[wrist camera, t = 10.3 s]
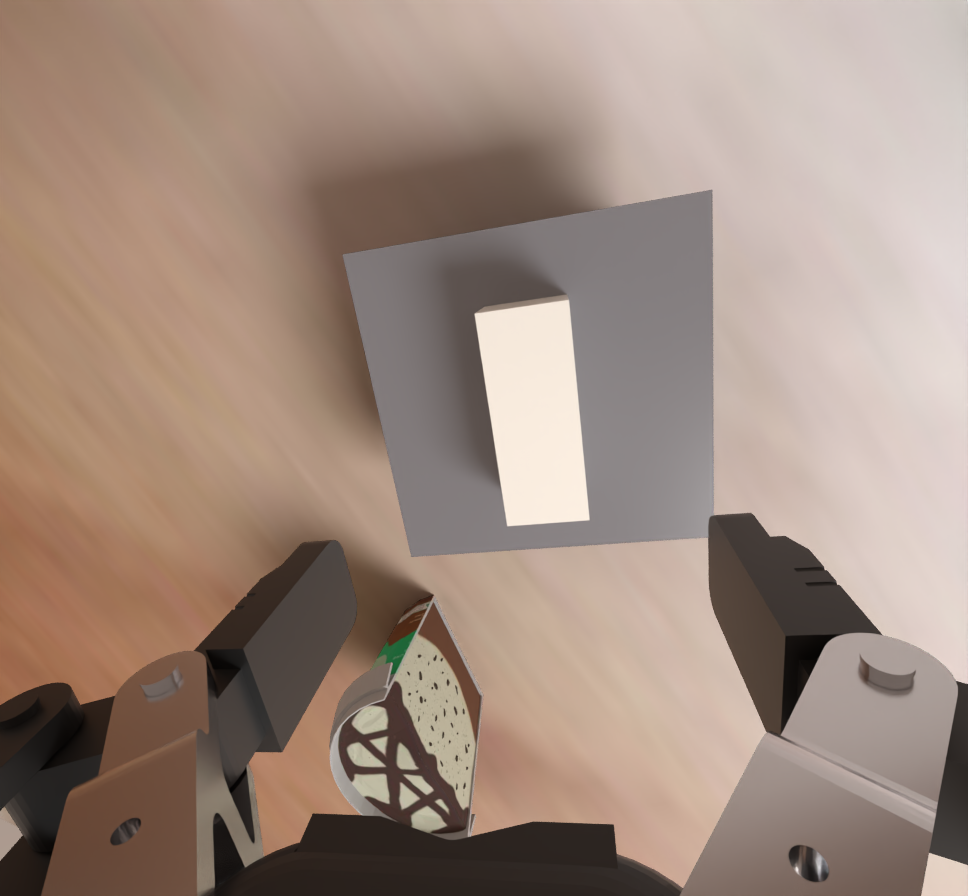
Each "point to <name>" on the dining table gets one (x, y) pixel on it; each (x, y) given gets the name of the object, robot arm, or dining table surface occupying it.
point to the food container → (412, 729)
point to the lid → (547, 378)
